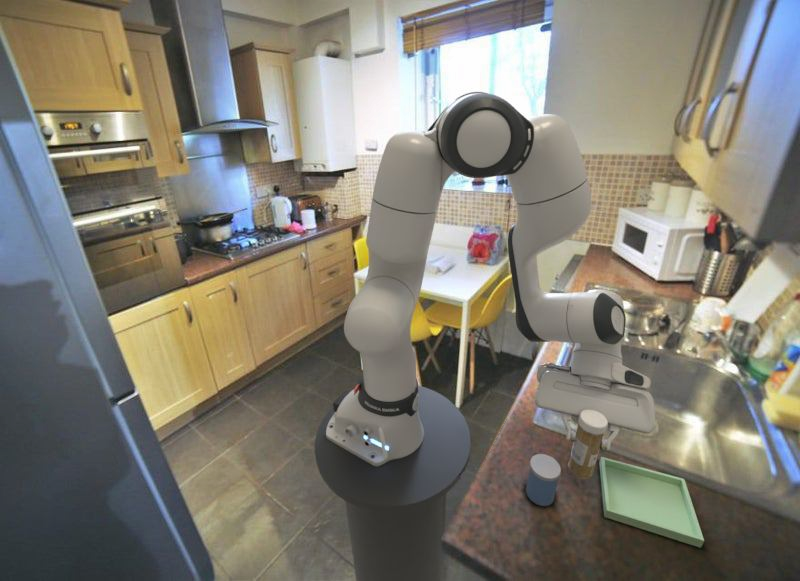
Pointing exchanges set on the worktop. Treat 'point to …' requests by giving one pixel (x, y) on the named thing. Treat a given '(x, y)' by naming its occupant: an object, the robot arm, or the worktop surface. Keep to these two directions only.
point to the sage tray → (649, 501)
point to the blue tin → (542, 479)
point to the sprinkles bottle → (587, 443)
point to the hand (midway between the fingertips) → (587, 445)
